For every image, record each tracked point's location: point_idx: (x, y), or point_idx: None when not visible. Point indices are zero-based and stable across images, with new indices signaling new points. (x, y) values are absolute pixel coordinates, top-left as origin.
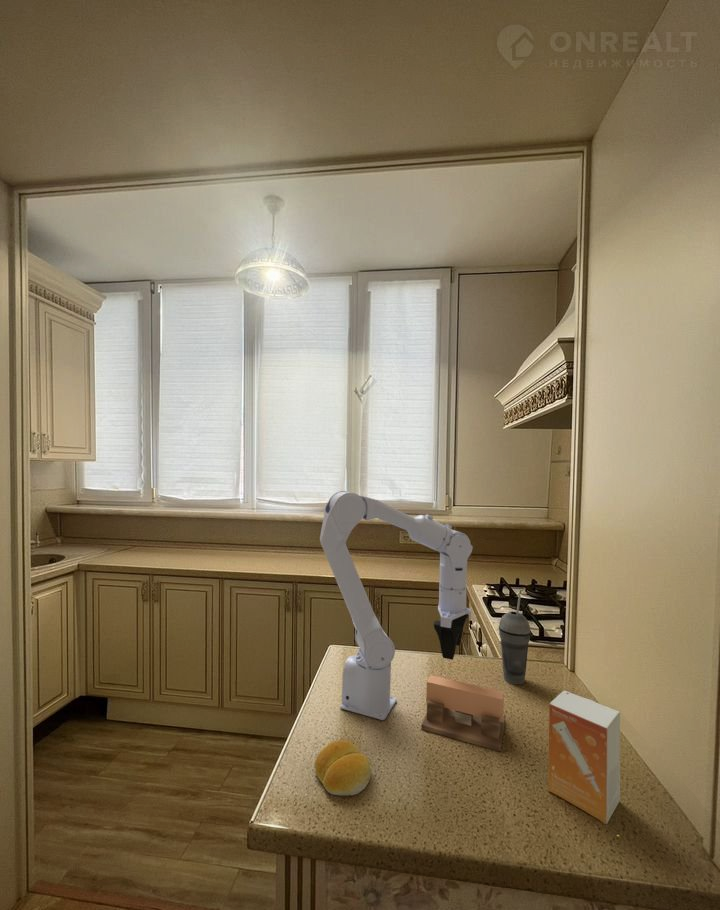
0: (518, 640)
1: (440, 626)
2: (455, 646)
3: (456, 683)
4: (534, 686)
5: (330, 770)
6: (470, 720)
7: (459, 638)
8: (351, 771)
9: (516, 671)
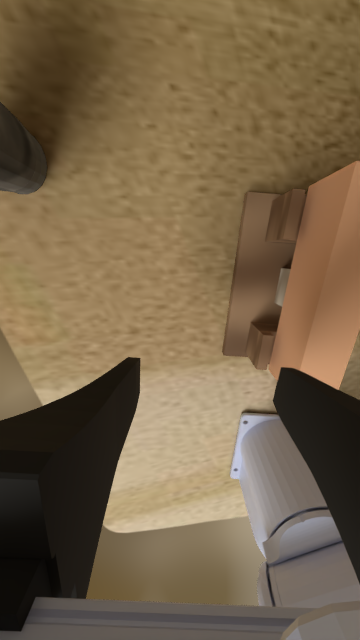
0: None
1: None
2: (345, 395)
3: (327, 327)
4: (22, 90)
5: None
6: None
7: (133, 374)
8: None
9: (19, 132)
